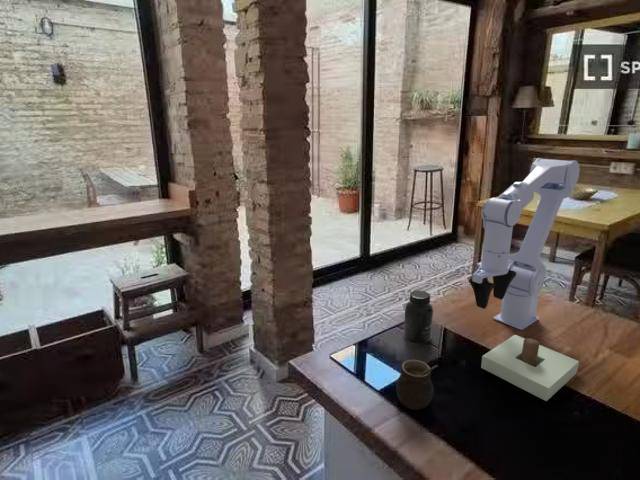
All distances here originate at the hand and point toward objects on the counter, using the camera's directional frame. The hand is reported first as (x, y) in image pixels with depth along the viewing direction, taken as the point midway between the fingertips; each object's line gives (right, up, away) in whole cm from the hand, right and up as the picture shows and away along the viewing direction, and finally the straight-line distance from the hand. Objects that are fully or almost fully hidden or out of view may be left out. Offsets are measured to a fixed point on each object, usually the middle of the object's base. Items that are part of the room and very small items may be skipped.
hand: (489, 302), depth 97 cm
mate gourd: (-23, -17, -18) cm, 34 cm away
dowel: (+4, -13, -10) cm, 17 cm away
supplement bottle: (-17, -10, +4) cm, 20 cm away
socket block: (+4, -13, -10) cm, 17 cm away
